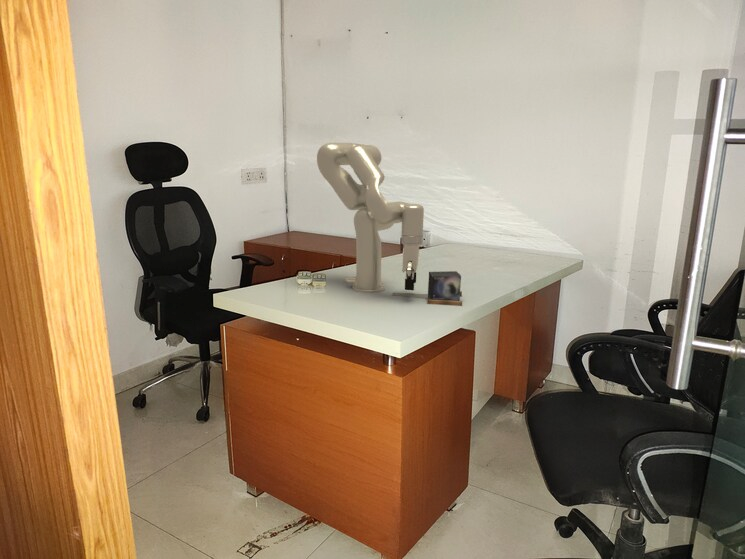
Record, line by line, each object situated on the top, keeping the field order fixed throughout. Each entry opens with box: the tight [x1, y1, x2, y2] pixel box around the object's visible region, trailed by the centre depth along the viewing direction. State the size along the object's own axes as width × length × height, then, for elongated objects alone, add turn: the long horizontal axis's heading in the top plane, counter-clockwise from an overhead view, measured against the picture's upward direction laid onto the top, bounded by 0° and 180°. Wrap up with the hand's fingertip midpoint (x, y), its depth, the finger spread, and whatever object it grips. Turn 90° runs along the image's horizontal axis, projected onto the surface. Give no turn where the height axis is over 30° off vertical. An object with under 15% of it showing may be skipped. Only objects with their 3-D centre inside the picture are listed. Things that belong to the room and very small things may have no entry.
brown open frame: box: [426, 290, 463, 307], centre depth 187 cm, size 12×14×2 cm
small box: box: [427, 270, 462, 301], centre depth 185 cm, size 11×6×10 cm, turn 97°
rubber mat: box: [391, 292, 428, 300], centre depth 189 cm, size 13×11×1 cm
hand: (410, 286), depth 188 cm, fingers open, 9 cm apart
